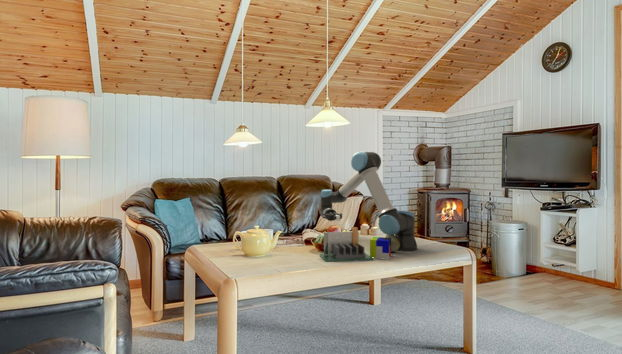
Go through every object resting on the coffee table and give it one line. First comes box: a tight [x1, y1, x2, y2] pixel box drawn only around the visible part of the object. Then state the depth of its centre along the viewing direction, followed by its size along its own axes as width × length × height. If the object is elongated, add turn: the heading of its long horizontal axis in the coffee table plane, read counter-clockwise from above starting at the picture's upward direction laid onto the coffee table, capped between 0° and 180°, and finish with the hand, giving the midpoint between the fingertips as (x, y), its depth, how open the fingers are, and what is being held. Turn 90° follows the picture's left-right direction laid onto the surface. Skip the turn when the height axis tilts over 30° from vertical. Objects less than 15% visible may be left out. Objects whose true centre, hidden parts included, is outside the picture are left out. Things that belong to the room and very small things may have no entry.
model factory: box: [319, 226, 374, 263], centre depth 227 cm, size 26×15×16 cm, turn 100°
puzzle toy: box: [369, 236, 392, 260], centre depth 231 cm, size 10×10×10 cm
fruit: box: [384, 234, 400, 253], centre depth 244 cm, size 10×9×12 cm
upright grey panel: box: [323, 231, 360, 254], centre depth 232 cm, size 20×2×12 cm, turn 99°
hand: (338, 218), depth 246 cm, fingers closed
